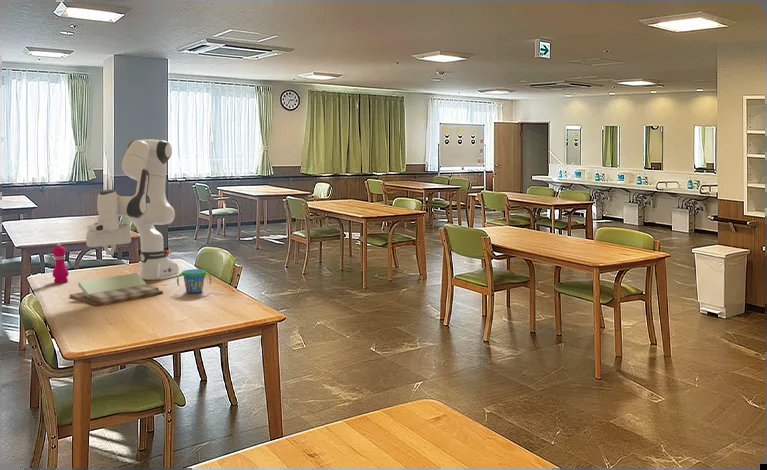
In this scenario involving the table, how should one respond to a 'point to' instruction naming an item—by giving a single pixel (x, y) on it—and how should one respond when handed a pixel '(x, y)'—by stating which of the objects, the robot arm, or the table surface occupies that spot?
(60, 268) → the pepper mill
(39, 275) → the table surface
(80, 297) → the floor board
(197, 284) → the snack cup
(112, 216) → the robot arm
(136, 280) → the board
